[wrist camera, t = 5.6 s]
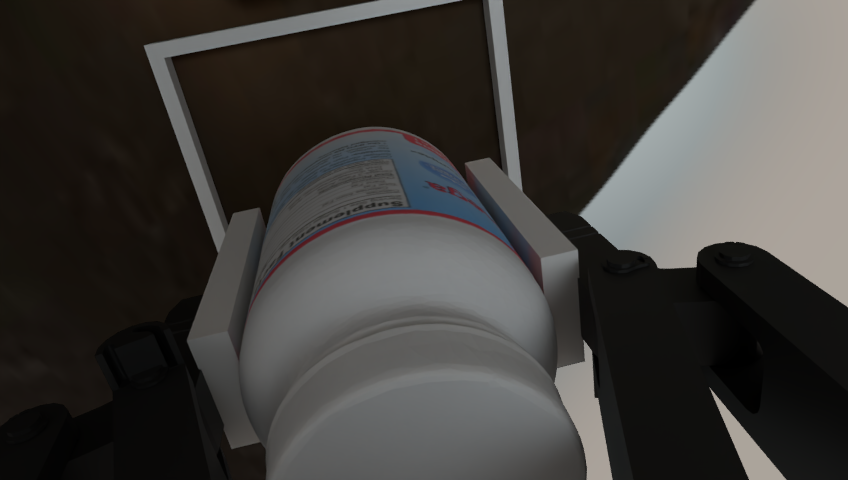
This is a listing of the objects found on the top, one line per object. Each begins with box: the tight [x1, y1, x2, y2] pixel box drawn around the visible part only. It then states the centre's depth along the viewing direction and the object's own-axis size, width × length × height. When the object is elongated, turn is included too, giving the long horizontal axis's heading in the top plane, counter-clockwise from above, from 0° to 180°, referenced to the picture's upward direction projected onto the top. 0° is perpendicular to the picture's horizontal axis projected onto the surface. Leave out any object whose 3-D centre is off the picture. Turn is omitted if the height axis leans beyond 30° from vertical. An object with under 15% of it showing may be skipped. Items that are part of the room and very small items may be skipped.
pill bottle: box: [239, 127, 587, 480], centre depth 13 cm, size 6×6×11 cm
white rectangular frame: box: [144, 0, 522, 254], centre depth 31 cm, size 17×11×1 cm, turn 100°
